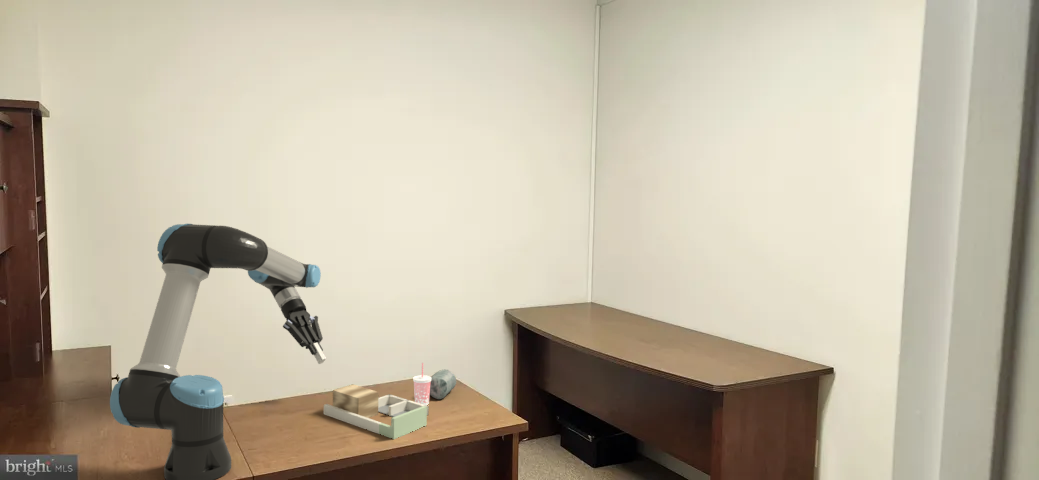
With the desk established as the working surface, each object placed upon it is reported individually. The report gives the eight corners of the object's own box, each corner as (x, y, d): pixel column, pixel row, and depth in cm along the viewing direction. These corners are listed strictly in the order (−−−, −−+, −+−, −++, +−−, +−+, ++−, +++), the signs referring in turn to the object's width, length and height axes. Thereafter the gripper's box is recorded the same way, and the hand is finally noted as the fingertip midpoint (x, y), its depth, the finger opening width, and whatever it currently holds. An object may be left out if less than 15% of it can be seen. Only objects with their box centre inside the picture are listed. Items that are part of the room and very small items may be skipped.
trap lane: (323, 414, 209) (323, 395, 209) (373, 397, 226) (373, 380, 225) (393, 439, 191) (394, 418, 191) (442, 419, 208) (442, 400, 207)
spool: (449, 394, 222) (440, 365, 225) (425, 404, 225) (416, 375, 227) (466, 392, 235) (457, 365, 238) (443, 401, 237) (434, 374, 240)
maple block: (332, 413, 211) (332, 390, 210) (352, 406, 217) (352, 384, 217) (358, 422, 204) (358, 398, 203) (378, 415, 211) (378, 391, 210)
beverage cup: (433, 406, 219) (433, 364, 218) (414, 408, 217) (415, 366, 216) (428, 400, 225) (429, 359, 224) (410, 402, 223) (411, 361, 222)
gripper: (302, 307, 234) (333, 363, 226) (269, 313, 224) (300, 372, 216) (311, 294, 231) (343, 350, 223) (278, 299, 220) (311, 358, 212)
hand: (322, 361), depth 219 cm, fingers closed
